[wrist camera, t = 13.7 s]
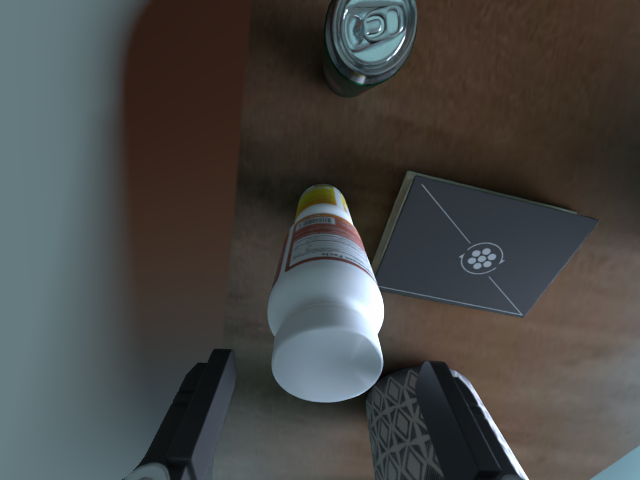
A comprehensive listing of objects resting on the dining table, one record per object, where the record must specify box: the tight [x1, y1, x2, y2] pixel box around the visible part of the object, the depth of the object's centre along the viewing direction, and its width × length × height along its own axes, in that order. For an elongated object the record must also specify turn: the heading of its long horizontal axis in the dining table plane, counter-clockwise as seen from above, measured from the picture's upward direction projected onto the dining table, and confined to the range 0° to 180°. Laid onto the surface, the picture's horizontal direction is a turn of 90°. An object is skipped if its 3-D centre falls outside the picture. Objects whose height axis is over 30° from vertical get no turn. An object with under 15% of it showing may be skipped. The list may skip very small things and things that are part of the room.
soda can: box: [322, 0, 417, 98], centre depth 18 cm, size 5×5×12 cm
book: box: [370, 170, 599, 318], centre depth 31 cm, size 22×15×3 cm
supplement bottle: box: [294, 184, 353, 225], centre depth 25 cm, size 6×6×10 cm
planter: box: [366, 366, 528, 480], centre depth 38 cm, size 19×19×16 cm
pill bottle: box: [268, 212, 384, 402], centre depth 15 cm, size 6×6×11 cm
